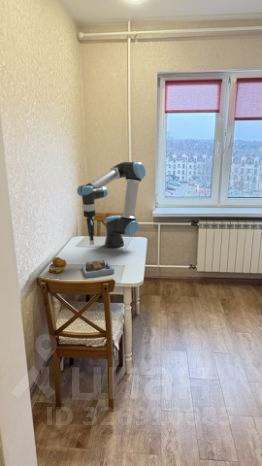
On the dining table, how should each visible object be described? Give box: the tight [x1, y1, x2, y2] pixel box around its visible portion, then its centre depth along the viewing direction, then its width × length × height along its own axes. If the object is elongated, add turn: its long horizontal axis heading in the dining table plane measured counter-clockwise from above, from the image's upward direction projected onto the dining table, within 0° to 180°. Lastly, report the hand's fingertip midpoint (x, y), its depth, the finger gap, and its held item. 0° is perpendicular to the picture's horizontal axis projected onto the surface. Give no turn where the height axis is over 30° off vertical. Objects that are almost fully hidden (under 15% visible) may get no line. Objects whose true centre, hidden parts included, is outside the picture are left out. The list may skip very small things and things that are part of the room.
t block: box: [85, 259, 106, 271], centre depth 205 cm, size 12×12×4 cm
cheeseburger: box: [47, 256, 67, 274], centre depth 205 cm, size 10×11×10 cm
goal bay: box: [81, 261, 115, 278], centre depth 203 cm, size 17×15×3 cm
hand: (92, 244), depth 215 cm, fingers closed
